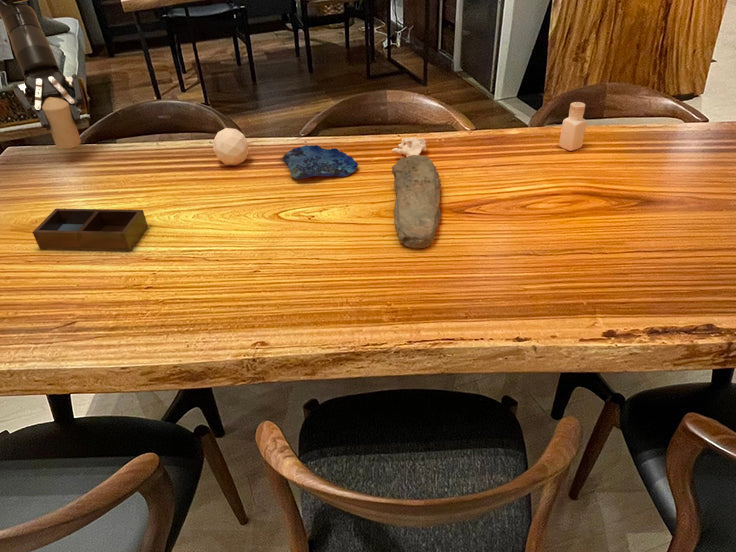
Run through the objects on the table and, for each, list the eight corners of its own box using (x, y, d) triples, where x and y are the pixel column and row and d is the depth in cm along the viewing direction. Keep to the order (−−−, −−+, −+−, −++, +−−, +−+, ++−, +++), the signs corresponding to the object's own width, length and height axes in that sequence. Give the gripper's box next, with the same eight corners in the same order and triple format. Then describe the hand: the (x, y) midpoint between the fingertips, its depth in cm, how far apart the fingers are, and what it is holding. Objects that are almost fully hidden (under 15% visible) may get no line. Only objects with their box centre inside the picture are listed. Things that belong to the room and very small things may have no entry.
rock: (295, 185, 131) (294, 176, 129) (277, 156, 143) (276, 148, 142) (361, 174, 134) (361, 166, 133) (338, 147, 146) (337, 138, 145)
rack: (39, 249, 115) (32, 232, 112) (62, 225, 121) (55, 208, 119) (130, 251, 113) (124, 233, 111) (148, 226, 120) (143, 209, 117)
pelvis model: (402, 130, 142) (430, 131, 140) (404, 148, 145) (431, 149, 143) (390, 143, 137) (419, 144, 134) (392, 162, 139) (420, 163, 137)
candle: (86, 141, 143) (71, 96, 136) (68, 150, 139) (52, 104, 133) (68, 137, 145) (53, 92, 138) (50, 146, 141) (33, 100, 134)
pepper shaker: (569, 142, 144) (577, 99, 137) (582, 147, 141) (591, 104, 135) (557, 146, 142) (564, 103, 136) (570, 152, 140) (578, 108, 133)
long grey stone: (387, 256, 111) (442, 259, 111) (388, 231, 108) (445, 233, 108) (392, 164, 136) (437, 166, 136) (393, 141, 132) (440, 143, 132)
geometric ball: (242, 177, 142) (243, 157, 134) (208, 164, 140) (207, 144, 133) (253, 149, 144) (254, 128, 136) (219, 136, 142) (218, 115, 135)
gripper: (-5, 49, 131) (25, 123, 132) (66, 38, 137) (94, 110, 137) (3, 69, 138) (31, 140, 139) (70, 59, 144) (97, 127, 144)
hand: (62, 125), depth 138 cm, fingers closed on candle, 5 cm apart
